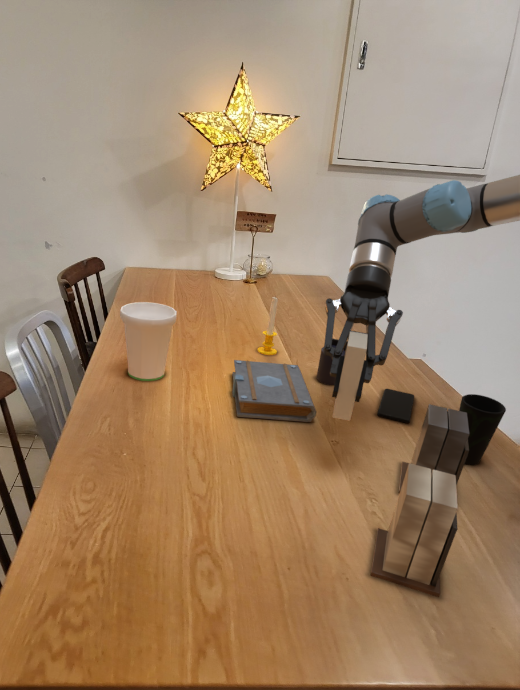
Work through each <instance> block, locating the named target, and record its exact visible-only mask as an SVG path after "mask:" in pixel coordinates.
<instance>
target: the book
mask: <svg viewBox="0 0 520 690" xmlns="http://www.w3.org/2000/svg"><path fill="white" fill-rule="evenodd" d="M233 364H234V371H232V383H233V384H232V391H231V393H232V398H234V402H235V409H236V417H237V418H251V419H265V420H279V421H288V422H289V421H291V422H304V423H311V422H312V421H313V419H315V417H316V416H317V410H316V407H315V404H314V403H313V399H312V397H311V394H310V391H309V389H308V387H307V384H306V381H305V379H304V376H303V374H302V372H301V371H302V370H301V369H300V367H299V366H298V364H287V363H276V362H264V361H252V360H241V359H234V360H233Z"/></svg>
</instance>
